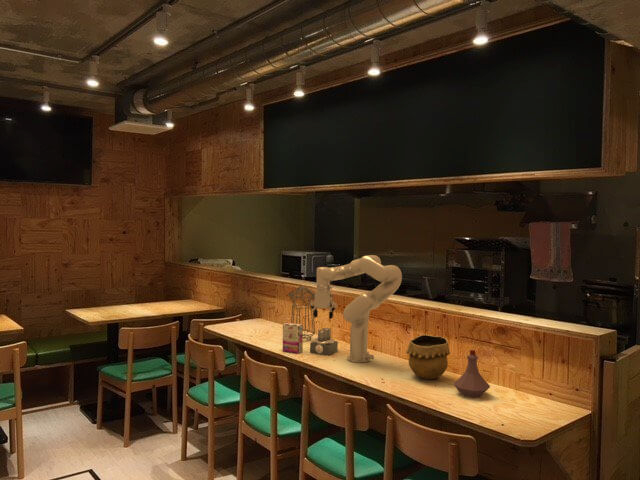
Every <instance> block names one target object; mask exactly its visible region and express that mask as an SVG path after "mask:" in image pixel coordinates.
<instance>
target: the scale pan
mask: <svg viewBox="0 0 640 480" xmlns="http://www.w3.org/2000/svg"><path fill="white" fill-rule="evenodd" d="M313 341H314V343H317V344H333V343H334V341H335V339H333V338H331V339H330V340H326V342H319V341H318V337H317V338H314V339H313Z"/></svg>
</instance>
